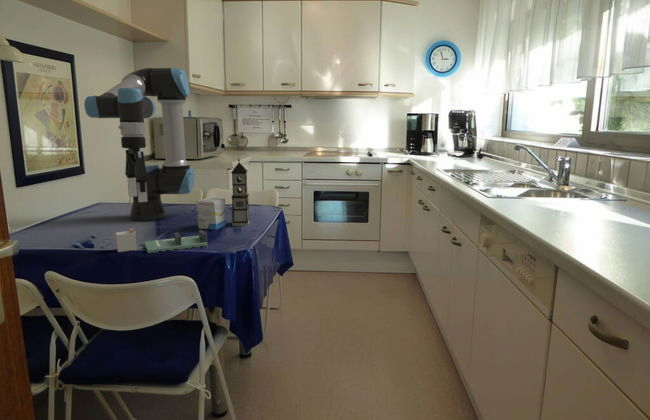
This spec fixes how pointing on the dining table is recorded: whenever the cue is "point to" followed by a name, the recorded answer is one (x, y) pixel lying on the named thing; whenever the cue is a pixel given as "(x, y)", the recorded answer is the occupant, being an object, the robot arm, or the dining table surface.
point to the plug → (126, 240)
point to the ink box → (211, 213)
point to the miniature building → (240, 197)
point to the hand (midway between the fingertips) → (137, 199)
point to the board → (176, 242)
